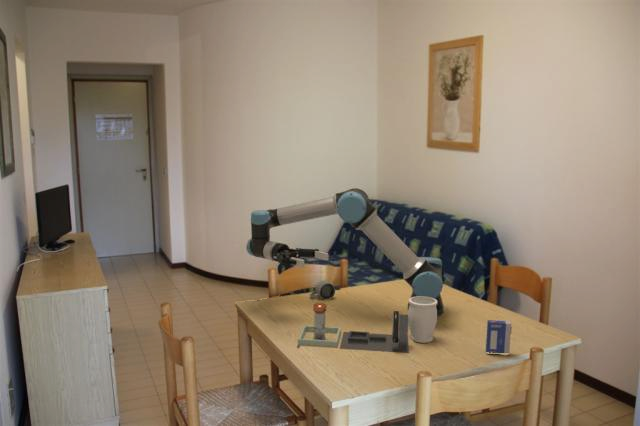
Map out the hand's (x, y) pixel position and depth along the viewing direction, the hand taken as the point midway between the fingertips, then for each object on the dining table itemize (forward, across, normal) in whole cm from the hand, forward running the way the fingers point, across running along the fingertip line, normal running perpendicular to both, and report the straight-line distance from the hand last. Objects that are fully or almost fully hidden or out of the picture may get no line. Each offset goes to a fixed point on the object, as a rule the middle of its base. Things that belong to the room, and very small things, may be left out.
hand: (316, 260), depth 219 cm
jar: (+35, -19, -28) cm, 49 cm away
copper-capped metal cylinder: (+9, +8, -26) cm, 29 cm away
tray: (+9, +8, -27) cm, 30 cm away
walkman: (+62, -26, -29) cm, 73 cm away
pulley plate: (+26, -3, -28) cm, 38 cm away
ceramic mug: (-24, -30, -27) cm, 47 cm away
